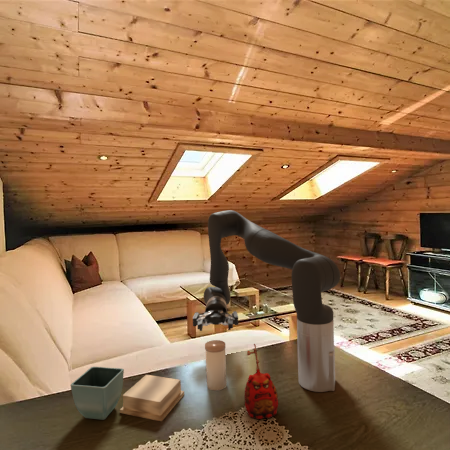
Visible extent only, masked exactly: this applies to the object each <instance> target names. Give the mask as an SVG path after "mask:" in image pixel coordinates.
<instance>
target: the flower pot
mask: <svg viewBox="0 0 450 450" xmlns="http://www.w3.org/2000/svg"><path fill="white" fill-rule="evenodd" d="M124 371H125V369H124V368H119V367H103V366H91V367H90V368H88V369H87V370H86V371H85V372H84V373H83V374H81V375H80V376H79V377H78V378H76V380H74V381H73V382H71V384H70V388H71V389H70V390H71V394H72V399H73V403H74V405H75V408H76V410H77V411H78V412H79V413H80V415H82V417H84V418H85V419H90V420H91V419H94V420H101V421H104V420H106V419H107V418H108V416H109V415H110V414H111V413H112V412H113V410H114V409H115V408H116V407H117V404H118V403H119V401H120V398H121V396H122V392H123V388H124V387H123V386H124V385H123V384H124V373H125V372H124Z"/></svg>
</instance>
